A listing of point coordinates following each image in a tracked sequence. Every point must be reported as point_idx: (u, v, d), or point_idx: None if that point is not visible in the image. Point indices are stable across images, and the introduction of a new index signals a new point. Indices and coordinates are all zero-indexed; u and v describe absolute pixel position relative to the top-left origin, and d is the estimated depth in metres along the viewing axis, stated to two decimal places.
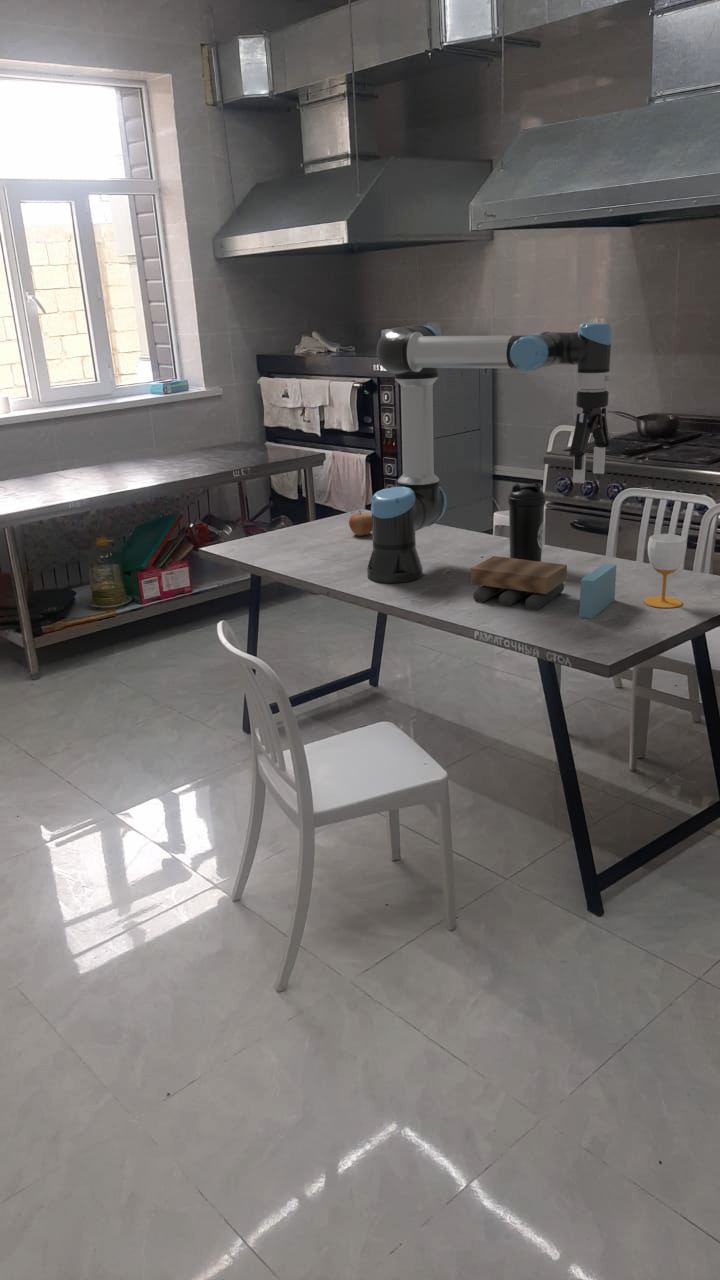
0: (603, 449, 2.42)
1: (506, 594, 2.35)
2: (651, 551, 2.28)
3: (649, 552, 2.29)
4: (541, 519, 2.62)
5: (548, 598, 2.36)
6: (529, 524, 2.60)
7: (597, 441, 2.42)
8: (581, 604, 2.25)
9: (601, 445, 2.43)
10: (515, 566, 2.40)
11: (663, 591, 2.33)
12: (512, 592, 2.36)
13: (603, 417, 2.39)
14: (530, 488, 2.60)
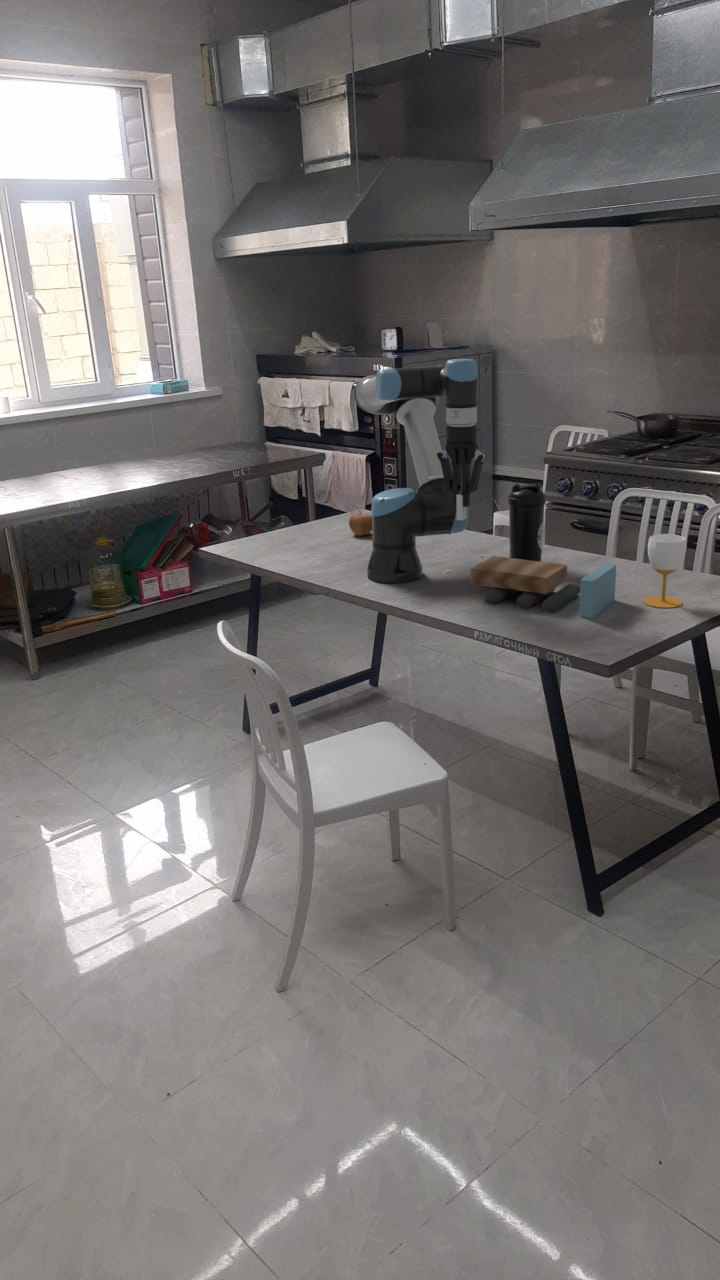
0: None
1: (523, 608, 2.34)
2: (651, 551, 2.28)
3: (649, 552, 2.29)
4: (541, 519, 2.62)
5: None
6: (529, 524, 2.60)
7: None
8: (581, 604, 2.25)
9: None
10: (515, 566, 2.40)
11: (663, 591, 2.33)
12: None
13: None
14: (530, 488, 2.60)
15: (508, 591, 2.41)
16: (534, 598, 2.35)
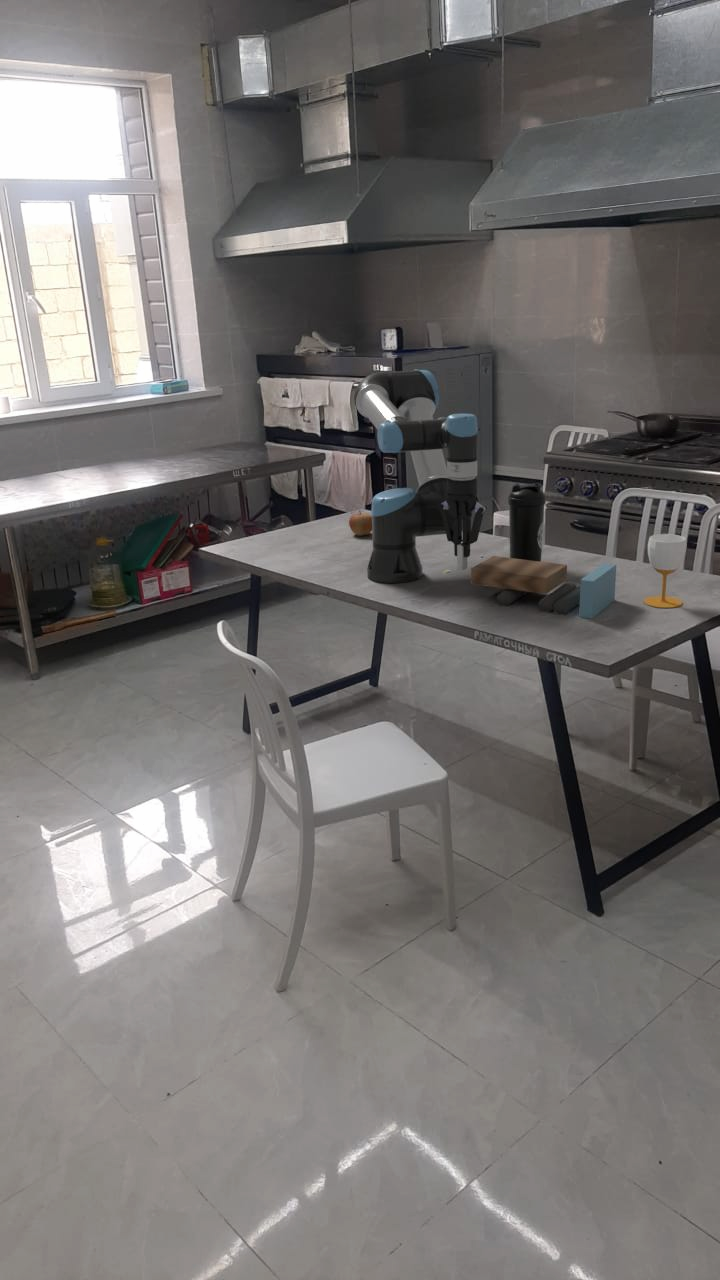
0: None
1: (547, 600, 2.30)
2: (651, 551, 2.28)
3: (649, 552, 2.29)
4: (541, 519, 2.62)
5: (568, 594, 2.33)
6: (529, 524, 2.60)
7: None
8: (581, 604, 2.25)
9: None
10: (515, 566, 2.40)
11: (663, 591, 2.33)
12: (553, 599, 2.31)
13: None
14: (530, 488, 2.60)
15: None
16: None
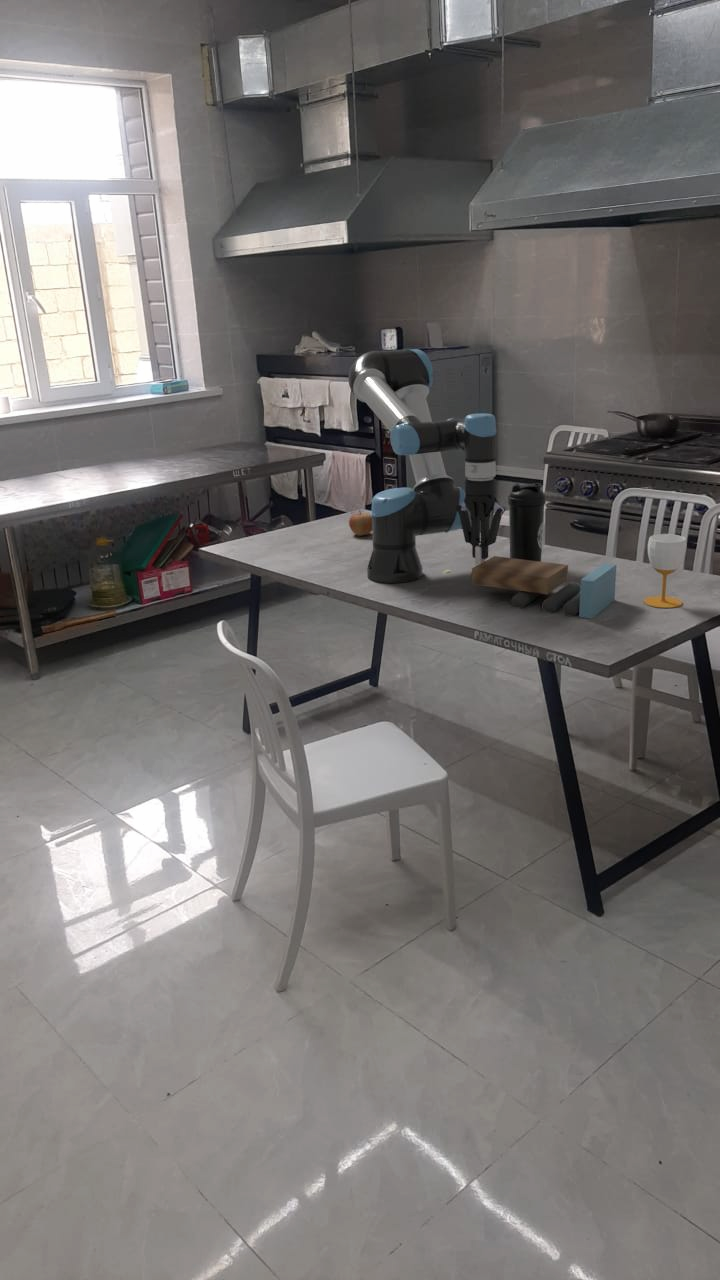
0: None
1: (553, 603, 2.29)
2: (651, 551, 2.28)
3: (649, 552, 2.29)
4: (541, 519, 2.62)
5: None
6: (529, 524, 2.60)
7: None
8: (581, 604, 2.25)
9: None
10: (516, 567, 2.40)
11: (663, 591, 2.33)
12: (559, 603, 2.30)
13: None
14: (530, 488, 2.60)
15: None
16: None
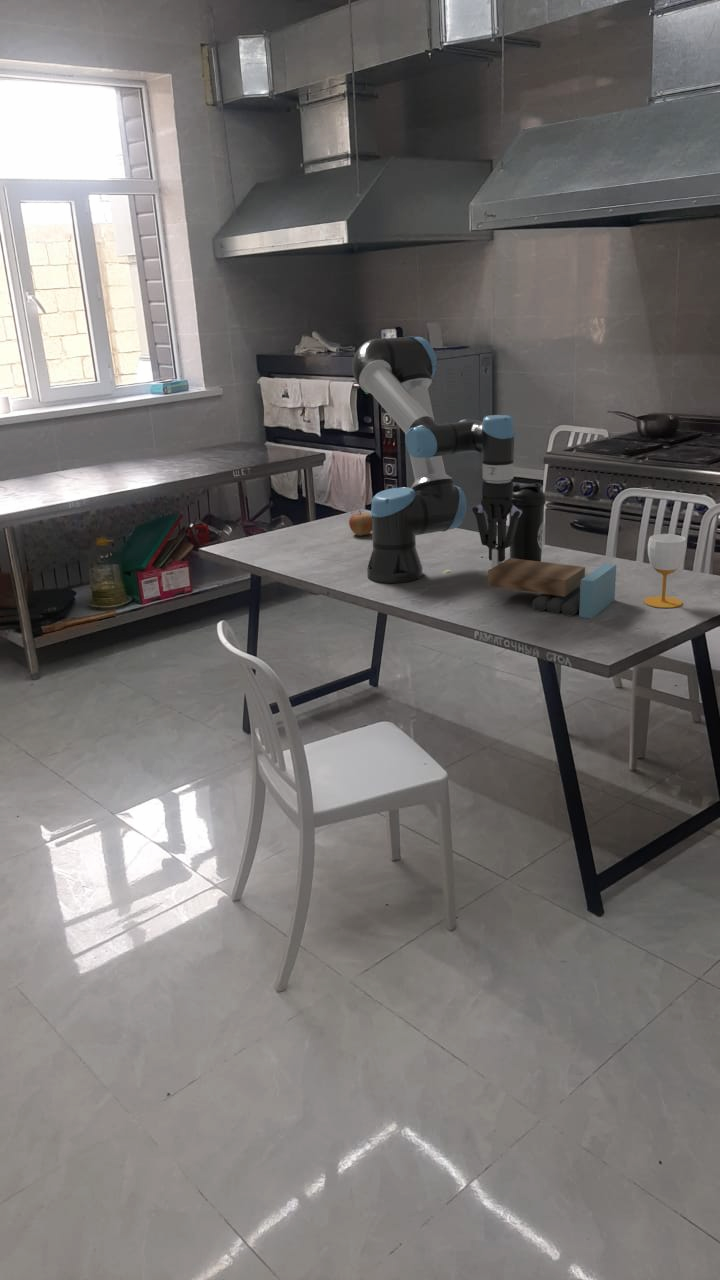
0: None
1: (559, 607, 2.29)
2: (651, 551, 2.28)
3: (649, 552, 2.29)
4: (541, 519, 2.62)
5: None
6: (529, 524, 2.60)
7: None
8: (581, 604, 2.25)
9: None
10: (532, 569, 2.37)
11: (663, 591, 2.33)
12: None
13: None
14: (530, 488, 2.60)
15: None
16: (556, 596, 2.31)
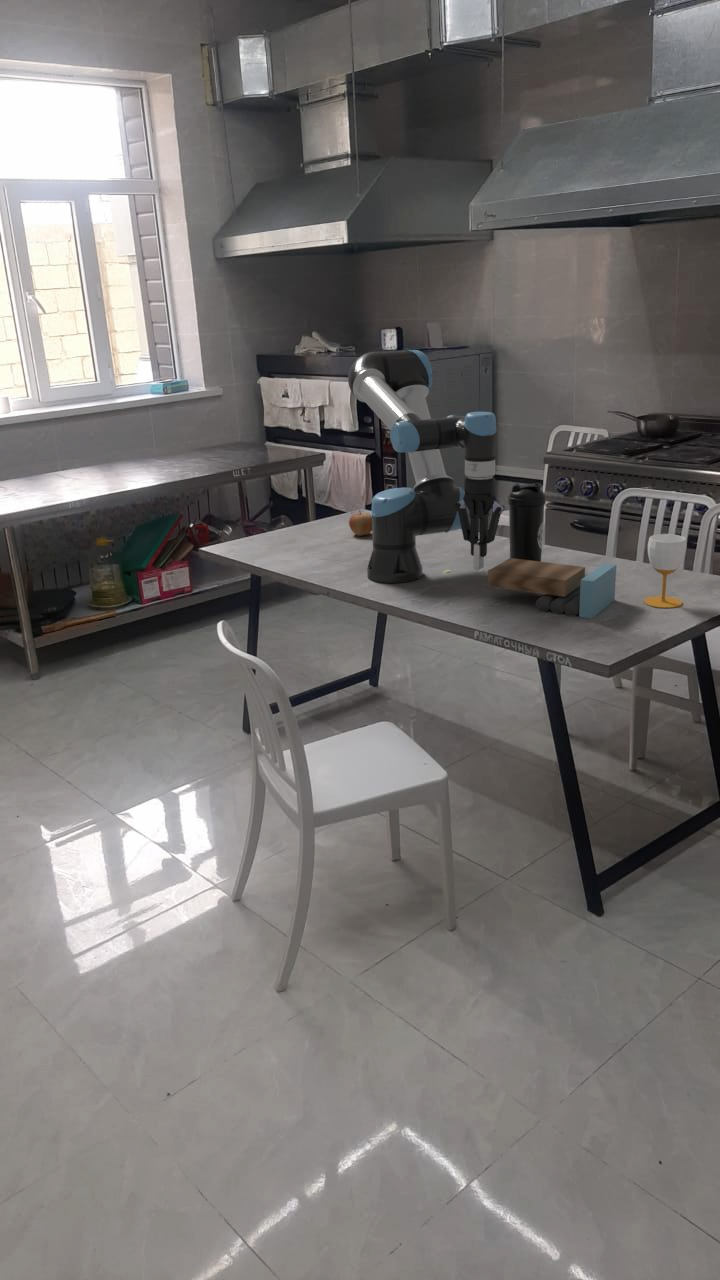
0: None
1: (561, 611, 2.29)
2: (651, 551, 2.28)
3: (649, 552, 2.29)
4: (541, 519, 2.62)
5: None
6: (529, 524, 2.60)
7: None
8: (581, 604, 2.25)
9: None
10: (532, 569, 2.37)
11: (663, 591, 2.33)
12: None
13: None
14: (530, 488, 2.60)
15: None
16: (564, 597, 2.30)
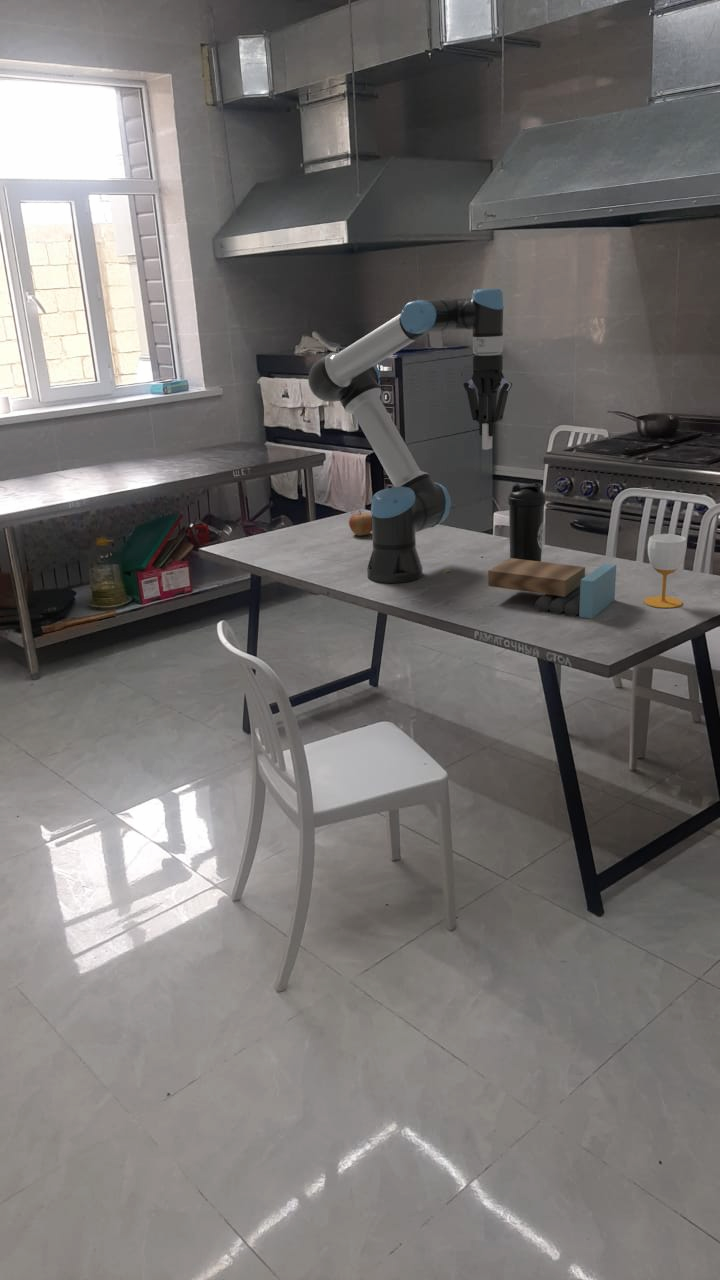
0: None
1: (561, 610, 2.29)
2: (651, 551, 2.28)
3: (649, 552, 2.29)
4: (541, 519, 2.62)
5: None
6: (529, 524, 2.60)
7: None
8: (581, 604, 2.25)
9: None
10: (532, 569, 2.37)
11: (663, 591, 2.33)
12: None
13: None
14: (530, 488, 2.60)
15: None
16: (563, 597, 2.30)
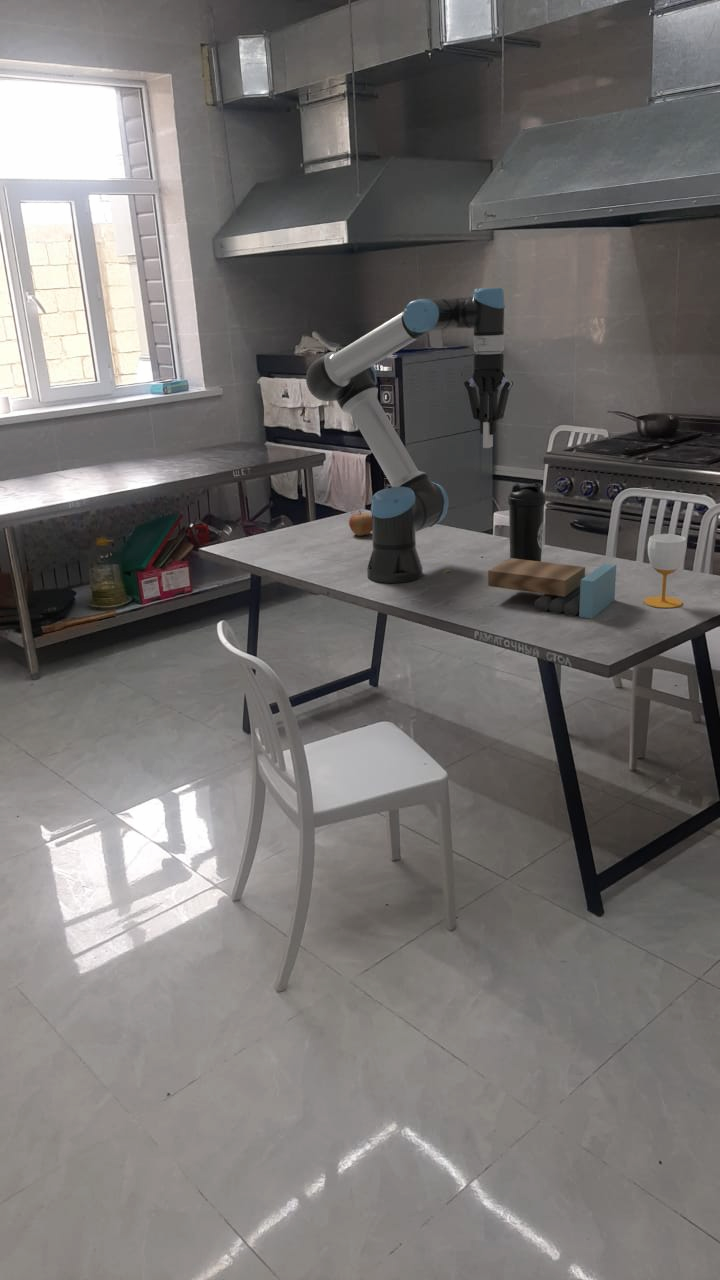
0: None
1: (560, 610, 2.29)
2: (651, 551, 2.28)
3: (649, 552, 2.29)
4: (541, 519, 2.62)
5: None
6: (529, 524, 2.60)
7: None
8: (581, 604, 2.25)
9: None
10: (532, 569, 2.37)
11: (663, 591, 2.33)
12: (563, 610, 2.30)
13: None
14: (530, 488, 2.60)
15: None
16: (561, 597, 2.31)
